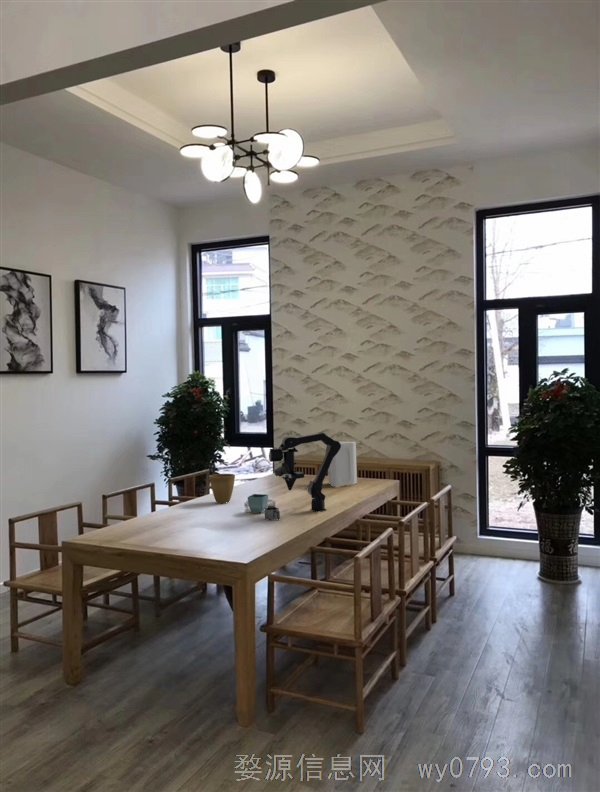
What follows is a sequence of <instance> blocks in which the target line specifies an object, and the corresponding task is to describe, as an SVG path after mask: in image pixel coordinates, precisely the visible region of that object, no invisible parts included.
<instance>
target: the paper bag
mask: <svg viewBox="0 0 600 792" xmlns="http://www.w3.org/2000/svg"><path fill="white" fill-rule="evenodd" d="M338 442H339V443H340V444H341V448H340V450H339V452H338V453H337V454H336V455H335V456H334V458H333V460H332V462H331V464H330V466H329V469H328V471H327V473H328V484H329V483H330V484H331V485H332V486H339V485H347V484H355V483H357V484H358V479H357V478H358V476H357V475H358V474H357V473H358V472H357V471H358V470H357V469H358V468H357V444H356V443H357V442H356V441H338Z"/></svg>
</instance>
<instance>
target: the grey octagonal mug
mask: <svg viewBox="0 0 600 792" xmlns="http://www.w3.org/2000/svg"><path fill="white" fill-rule="evenodd" d="M280 512H281V511H279V507H276V508H274V509H272V510H271V509H268V507H266V508H265V511H264V520H266V519H278V520H277V521H280V520H281V513H280ZM279 519H280V520H279Z"/></svg>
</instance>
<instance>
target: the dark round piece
mask: <svg viewBox="0 0 600 792" xmlns="http://www.w3.org/2000/svg"><path fill="white" fill-rule="evenodd" d="M267 508H268V509H271V510H272V509H274V508H277V507H276V505H273V504H271V505H267Z"/></svg>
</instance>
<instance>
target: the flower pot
mask: <svg viewBox="0 0 600 792" xmlns="http://www.w3.org/2000/svg"><path fill="white" fill-rule="evenodd" d="M268 503H269V494H266V493H265V494H263V493H262V494H261V493H260V494H259V493H253V494H251V495H248V496H247V504H248V507H249V510H250V511H251V513H252V512H262V511H263V510H264V509H265V508H267V507H268ZM266 506H267V507H266ZM262 513H263V512H262Z"/></svg>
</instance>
